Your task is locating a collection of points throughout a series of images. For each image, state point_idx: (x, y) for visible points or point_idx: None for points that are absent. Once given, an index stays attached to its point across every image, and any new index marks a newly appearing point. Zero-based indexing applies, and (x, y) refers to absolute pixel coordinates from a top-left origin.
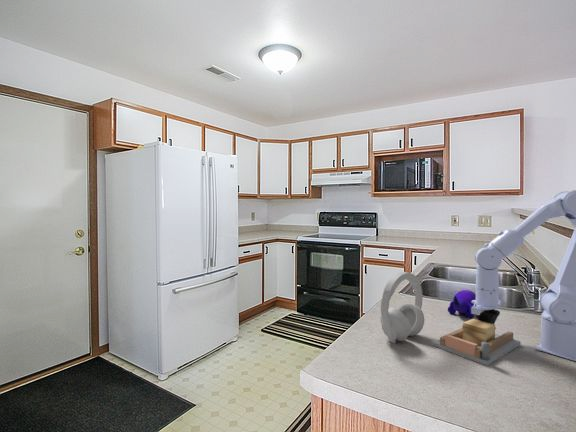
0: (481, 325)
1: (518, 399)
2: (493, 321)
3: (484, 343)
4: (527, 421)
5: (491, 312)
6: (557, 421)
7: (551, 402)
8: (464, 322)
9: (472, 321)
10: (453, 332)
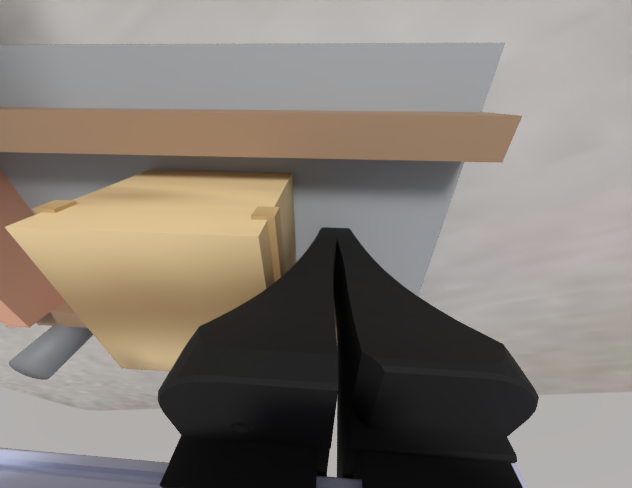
0: (155, 339)
1: (56, 372)
2: (338, 365)
3: (22, 368)
4: (19, 386)
5: (342, 463)
6: (76, 403)
7: (118, 396)
8: (31, 231)
9: (159, 268)
10: (29, 122)
